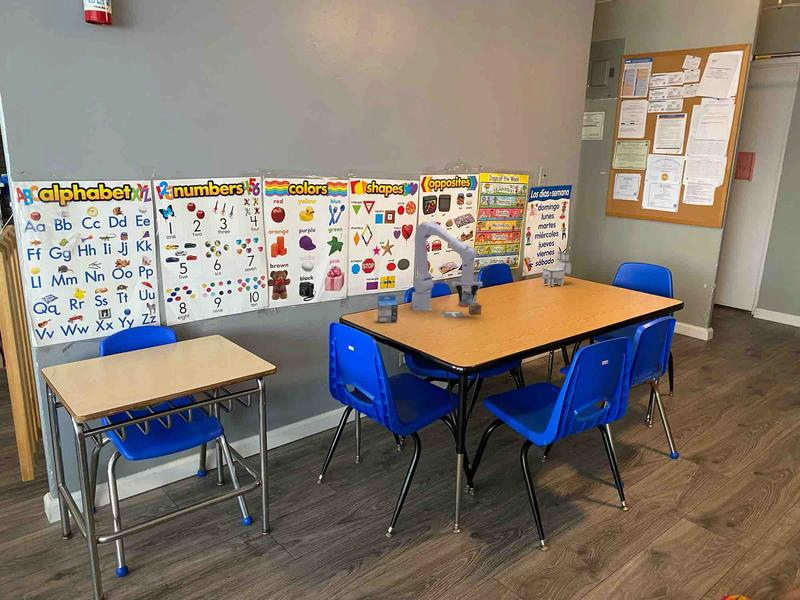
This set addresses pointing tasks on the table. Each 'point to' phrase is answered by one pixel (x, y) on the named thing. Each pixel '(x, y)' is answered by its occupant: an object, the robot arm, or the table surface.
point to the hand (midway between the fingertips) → (466, 300)
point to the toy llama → (557, 270)
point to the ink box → (467, 289)
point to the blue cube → (466, 298)
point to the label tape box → (387, 308)
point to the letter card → (453, 314)
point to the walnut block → (475, 309)
